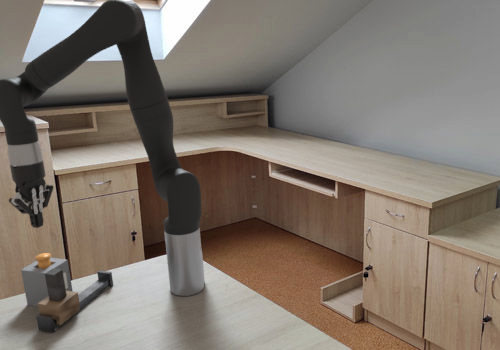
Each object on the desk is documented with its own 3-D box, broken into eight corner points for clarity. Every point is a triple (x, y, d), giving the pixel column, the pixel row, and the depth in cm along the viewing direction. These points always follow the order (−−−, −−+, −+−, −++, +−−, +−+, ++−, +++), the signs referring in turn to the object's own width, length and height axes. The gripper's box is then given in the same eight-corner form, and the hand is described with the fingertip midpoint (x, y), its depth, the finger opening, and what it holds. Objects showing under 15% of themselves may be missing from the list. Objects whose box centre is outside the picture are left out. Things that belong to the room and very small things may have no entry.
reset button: (45, 271, 127) (42, 252, 126) (56, 272, 126) (53, 253, 124) (35, 277, 124) (32, 258, 122) (47, 279, 123) (43, 259, 121)
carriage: (61, 306, 120) (53, 263, 117) (80, 310, 118) (73, 266, 115) (40, 321, 114) (32, 276, 111) (61, 325, 112) (53, 279, 109)
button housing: (49, 289, 132) (43, 256, 129) (74, 293, 129) (69, 260, 126) (27, 304, 124) (20, 269, 122) (53, 309, 121) (47, 273, 119)
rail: (101, 283, 134) (99, 270, 133) (113, 284, 133) (111, 271, 132) (38, 330, 112) (35, 315, 111) (52, 333, 111) (49, 318, 110)
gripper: (34, 154, 124) (44, 216, 128) (-8, 166, 112) (5, 235, 116) (57, 155, 121) (67, 218, 126) (17, 167, 109) (30, 237, 114)
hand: (37, 226), depth 121 cm, fingers closed
